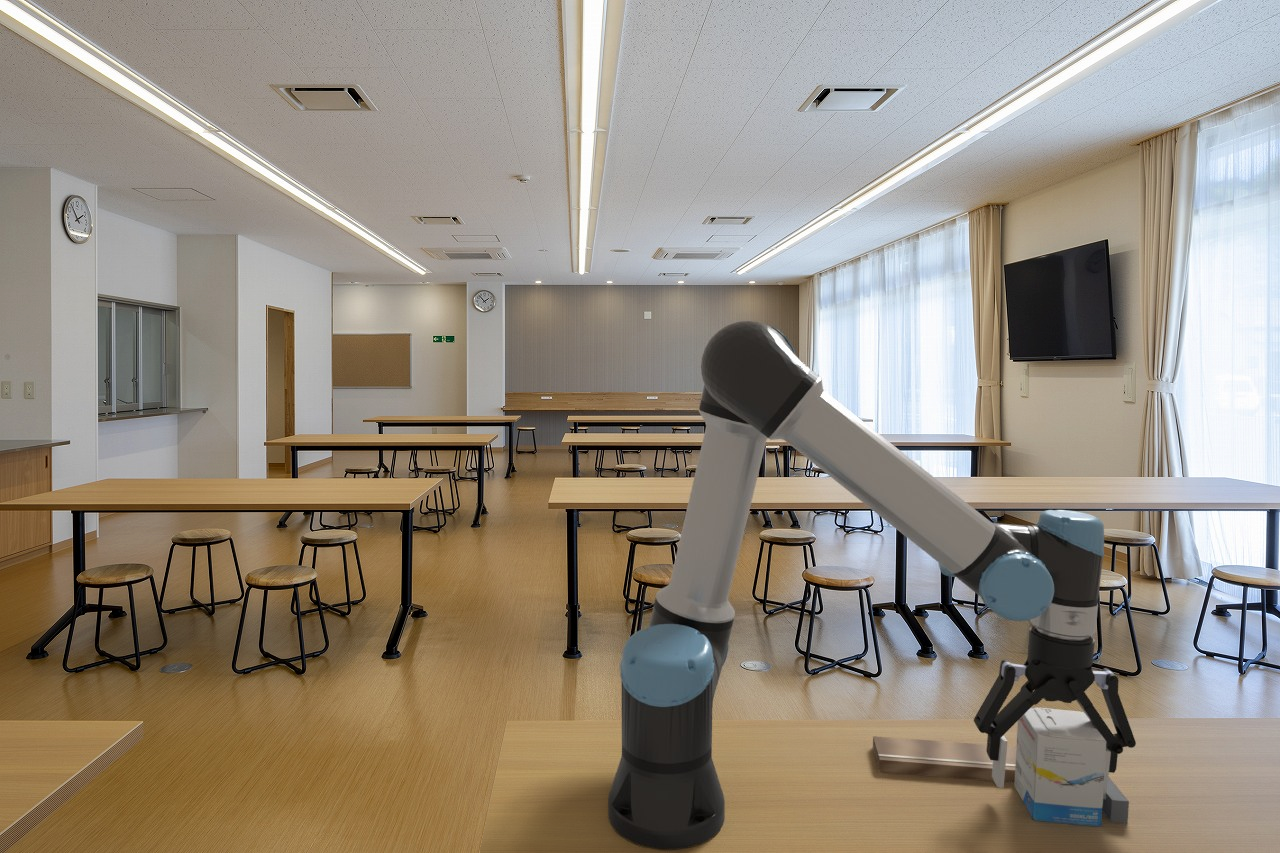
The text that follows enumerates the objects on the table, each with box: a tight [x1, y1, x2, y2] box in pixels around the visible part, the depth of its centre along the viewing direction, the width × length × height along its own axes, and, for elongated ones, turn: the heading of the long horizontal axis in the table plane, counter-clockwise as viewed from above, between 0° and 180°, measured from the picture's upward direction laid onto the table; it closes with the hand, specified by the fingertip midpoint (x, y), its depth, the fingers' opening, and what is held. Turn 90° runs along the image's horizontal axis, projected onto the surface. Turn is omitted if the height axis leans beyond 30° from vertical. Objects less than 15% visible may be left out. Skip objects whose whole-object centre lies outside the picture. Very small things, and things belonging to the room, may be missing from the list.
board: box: [872, 735, 1017, 784], centre depth 115 cm, size 26×7×2 cm, turn 81°
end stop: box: [1102, 775, 1130, 825], centre depth 104 cm, size 2×6×3 cm, turn 171°
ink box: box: [1013, 706, 1106, 827], centre depth 104 cm, size 9×8×12 cm
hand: (1047, 788), depth 105 cm, fingers open, 12 cm apart
